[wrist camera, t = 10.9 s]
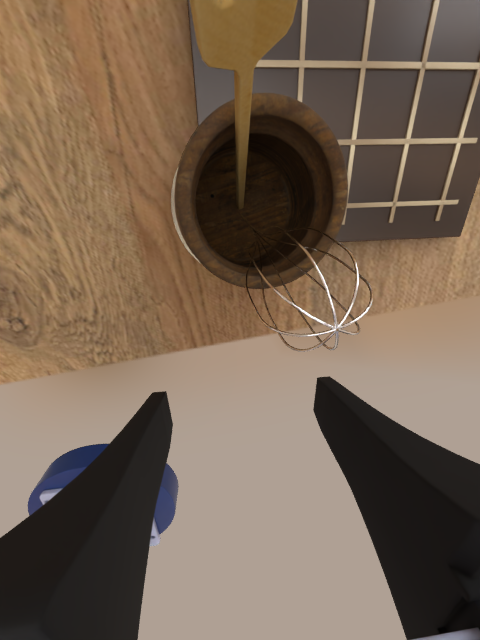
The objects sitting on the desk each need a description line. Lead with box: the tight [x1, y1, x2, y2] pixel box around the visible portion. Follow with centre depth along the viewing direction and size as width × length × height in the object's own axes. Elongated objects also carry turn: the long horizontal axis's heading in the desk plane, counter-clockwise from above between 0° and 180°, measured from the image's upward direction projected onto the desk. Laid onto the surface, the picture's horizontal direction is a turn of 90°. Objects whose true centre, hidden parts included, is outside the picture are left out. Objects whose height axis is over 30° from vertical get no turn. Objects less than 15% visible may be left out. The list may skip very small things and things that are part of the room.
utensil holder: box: [174, 0, 373, 352], centre depth 8 cm, size 6×6×12 cm
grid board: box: [171, 0, 480, 262], centre depth 12 cm, size 18×18×1 cm
